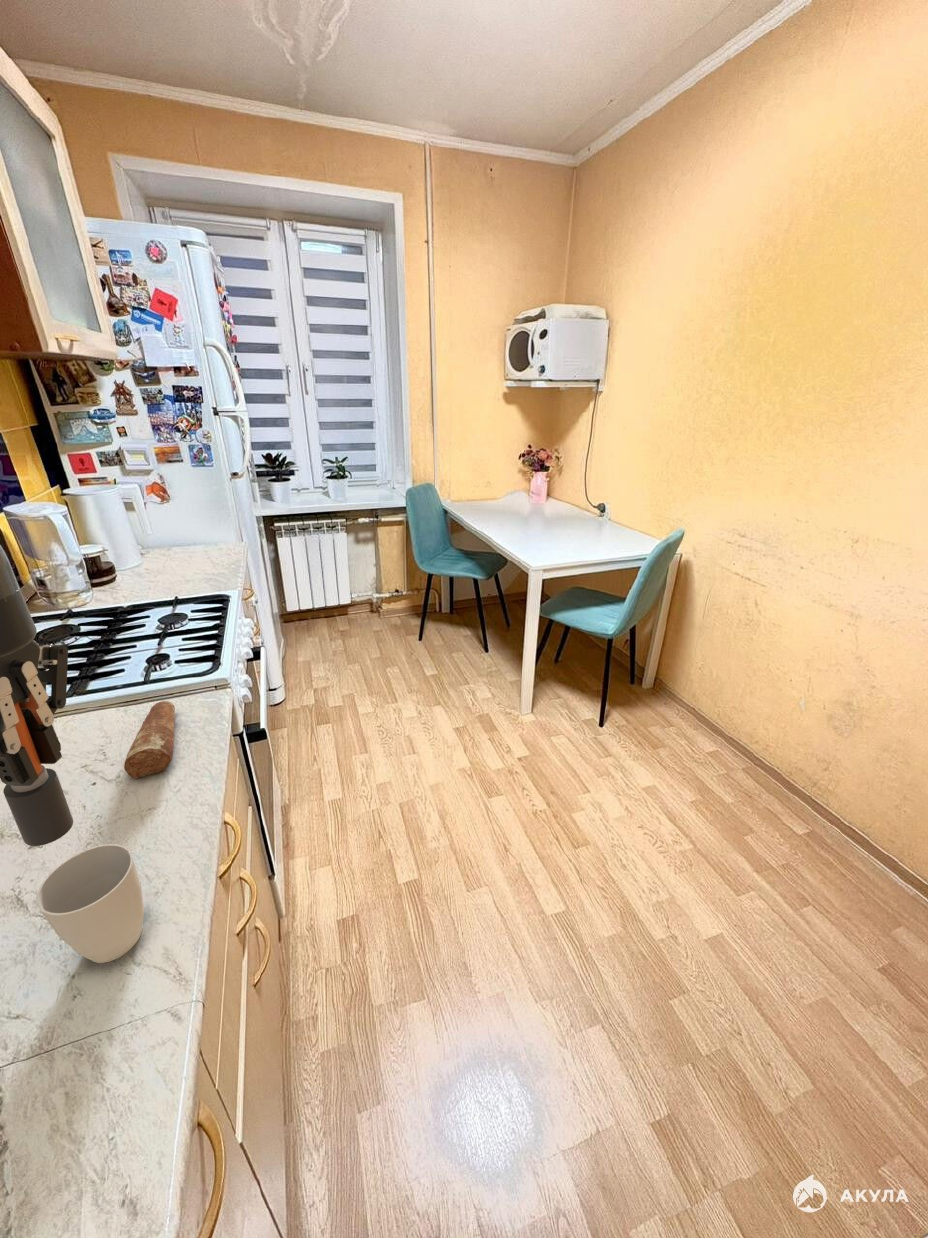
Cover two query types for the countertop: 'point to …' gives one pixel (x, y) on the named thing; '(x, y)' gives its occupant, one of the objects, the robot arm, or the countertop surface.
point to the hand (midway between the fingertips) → (36, 771)
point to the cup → (95, 902)
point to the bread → (153, 742)
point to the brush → (38, 798)
